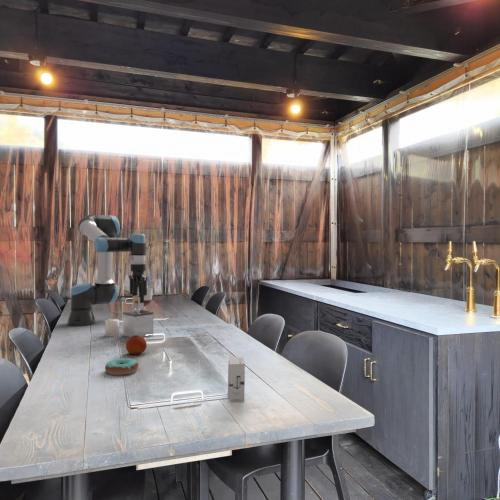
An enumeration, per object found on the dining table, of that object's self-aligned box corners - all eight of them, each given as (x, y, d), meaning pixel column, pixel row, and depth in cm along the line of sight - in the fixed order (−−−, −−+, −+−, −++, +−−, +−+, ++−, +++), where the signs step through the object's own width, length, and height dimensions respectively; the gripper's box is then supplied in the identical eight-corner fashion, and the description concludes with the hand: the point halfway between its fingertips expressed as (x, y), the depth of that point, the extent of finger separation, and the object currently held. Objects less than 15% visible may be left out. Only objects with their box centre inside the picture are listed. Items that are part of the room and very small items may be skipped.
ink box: (227, 392, 138) (227, 356, 138) (243, 392, 138) (243, 356, 138) (228, 402, 129) (228, 363, 129) (245, 402, 130) (245, 363, 130)
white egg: (102, 335, 222) (102, 320, 222) (114, 333, 227) (114, 318, 227) (109, 337, 217) (109, 321, 217) (122, 335, 222) (122, 319, 222)
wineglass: (148, 329, 236) (148, 290, 235) (132, 329, 238) (132, 289, 237) (155, 326, 244) (155, 288, 244) (139, 326, 246) (139, 288, 246)
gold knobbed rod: (128, 331, 222) (128, 295, 221) (140, 329, 227) (140, 294, 227) (136, 333, 217) (136, 297, 216) (148, 331, 222) (148, 295, 222)
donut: (111, 367, 166) (111, 356, 166) (142, 367, 166) (142, 357, 166) (99, 376, 154) (99, 365, 154) (132, 377, 154) (132, 366, 154)
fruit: (128, 357, 179) (128, 338, 179) (124, 352, 187) (124, 334, 187) (149, 354, 184) (149, 336, 183) (144, 350, 191) (144, 332, 191)
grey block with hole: (123, 335, 221) (123, 312, 221) (141, 332, 230) (141, 309, 229) (134, 338, 214) (134, 314, 214) (153, 335, 222) (153, 312, 222)
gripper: (122, 263, 224) (122, 307, 225) (141, 264, 213) (141, 311, 213) (135, 262, 230) (135, 306, 230) (154, 263, 218) (154, 309, 219)
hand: (138, 308), depth 222 cm, fingers closed on gold knobbed rod, 4 cm apart
